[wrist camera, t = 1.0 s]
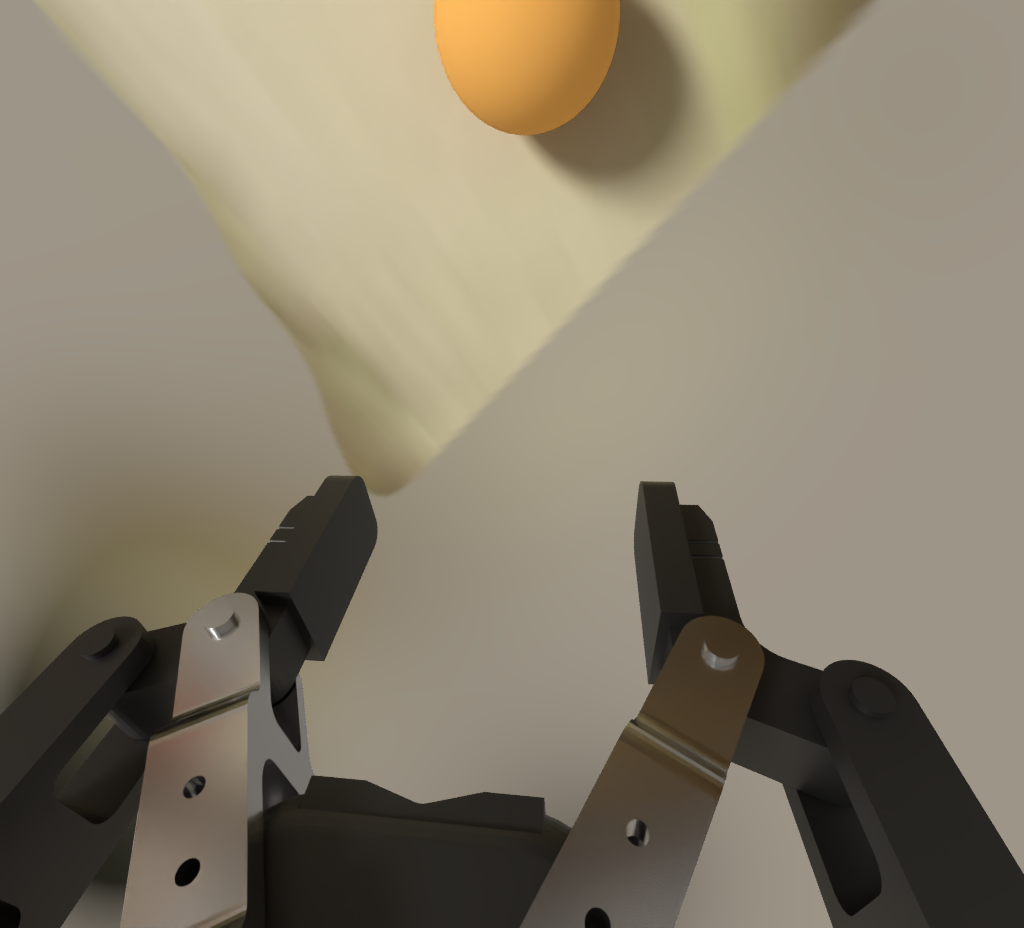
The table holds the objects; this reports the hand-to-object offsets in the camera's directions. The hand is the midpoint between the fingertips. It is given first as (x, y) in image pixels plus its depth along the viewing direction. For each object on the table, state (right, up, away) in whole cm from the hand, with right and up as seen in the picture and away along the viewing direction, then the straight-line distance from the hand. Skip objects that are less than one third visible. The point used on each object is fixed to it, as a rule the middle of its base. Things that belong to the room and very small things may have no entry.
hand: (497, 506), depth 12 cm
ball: (+1, +15, +4) cm, 16 cm away
